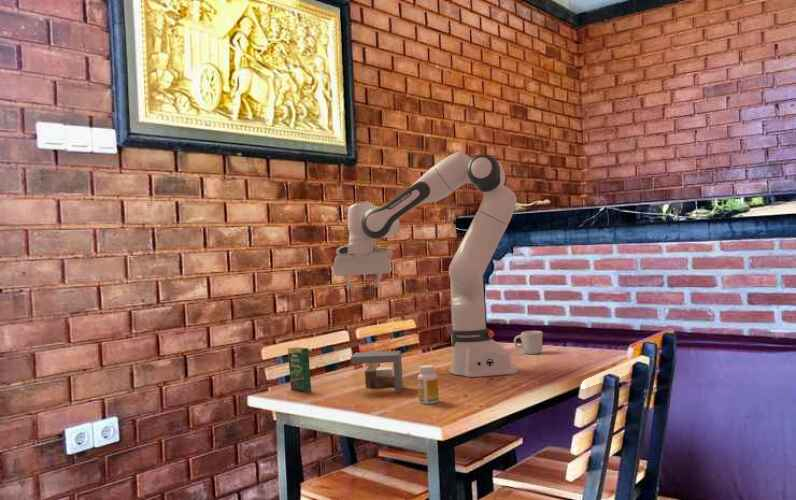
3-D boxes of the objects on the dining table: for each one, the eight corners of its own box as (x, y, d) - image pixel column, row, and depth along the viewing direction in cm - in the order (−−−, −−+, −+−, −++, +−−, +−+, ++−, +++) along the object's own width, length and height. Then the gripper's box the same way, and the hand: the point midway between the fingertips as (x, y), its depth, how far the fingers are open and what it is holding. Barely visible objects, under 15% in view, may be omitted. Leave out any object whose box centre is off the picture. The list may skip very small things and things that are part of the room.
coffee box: (289, 389, 203) (287, 347, 203) (297, 387, 205) (295, 346, 205) (303, 392, 197) (301, 349, 197) (311, 390, 198) (309, 348, 198)
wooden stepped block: (398, 376, 214) (397, 361, 214) (395, 386, 198) (394, 370, 198) (371, 377, 214) (370, 362, 214) (365, 387, 198) (364, 371, 198)
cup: (514, 355, 241) (513, 334, 241) (514, 352, 249) (513, 331, 249) (544, 354, 239) (543, 333, 239) (543, 351, 247) (541, 330, 247)
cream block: (393, 382, 205) (392, 366, 205) (392, 385, 200) (391, 369, 200) (378, 382, 205) (377, 367, 205) (376, 386, 200) (375, 370, 200)
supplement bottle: (441, 399, 177) (439, 364, 177) (435, 404, 172) (433, 368, 172) (422, 399, 179) (420, 364, 179) (416, 404, 174) (414, 367, 174)
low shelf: (402, 387, 196) (400, 350, 196) (400, 392, 188) (398, 355, 188) (357, 388, 198) (355, 352, 198) (352, 394, 190) (350, 357, 190)
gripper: (391, 246, 230) (394, 285, 230) (335, 249, 232) (337, 288, 232) (389, 246, 223) (392, 286, 223) (331, 249, 226) (333, 289, 226)
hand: (363, 287), depth 228 cm, fingers open, 8 cm apart
